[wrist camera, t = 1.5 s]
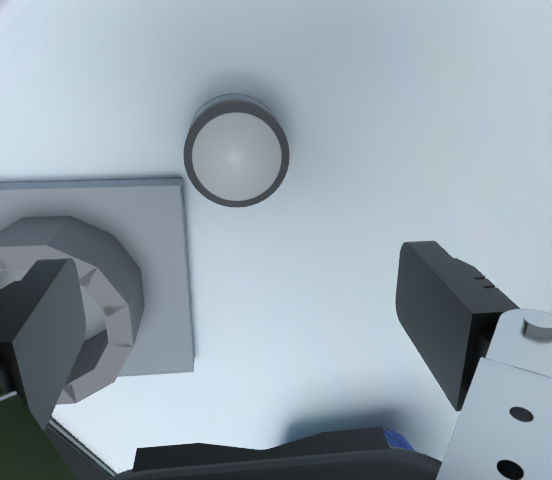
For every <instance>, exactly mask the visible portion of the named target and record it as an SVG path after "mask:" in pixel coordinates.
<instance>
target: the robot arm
mask: <svg viewBox="0 0 552 480" xmlns="http://www.w3.org/2000/svg"><path fill="white" fill-rule="evenodd" d="M396 311H397V316H398V319H399V321H400V323H401V325H402V326H403V328H404V329H405V331H406V333H407V334H408V336H409V337H410V339H411V341H412V342H413V344H414V345H415V347H416V348H417V350H418V352H419V353H420V355H421V356H422V358H423V360H424V361H425V363H426V364H427V366H428V368H429V369H430V371H431V372H432V374H433V375H434V377H435V379H436V380H437V382H438V383H439V385H440V387H441V388H442V390H443V391H444V393H445V394H446V396H447V398H448V399H449V401H450V402H451V404H452V406H453V407H454V409H455V410H456V411H461V413H460V415H459V418H458V421H457V423H456V426H455V429H454V432H453V434H452V437H451V440H450V443H449V445H448V448H447V451H446V454H445V456H444V459H443V462H441V461H439V460H437V459H434V458H432V457H430V456H427V455H425V454H421V453H418V452H415V451H412V450H408V449H403V448H399V447H392V446H389V444H388V442H387V439H386V437H385V435H384V432H383V430H382V427H380V428H369V429H357V430H345V431H334V432H323V433H320V434H316V435H313V436H310V437H307V438H303V439H300V440H297V441H293V442H290V443H287V444H283V445H280V446H277V447H274V448H270V449H266V450H255V449H246V448H238V447H229V446H221V445H212V444H204V443H193V444H182V445H170V446H158V447H146V448H137V451H136V456H135V461H134V466H133V469H131V470H127V471H124V472H122V473H119V474H117V475H114V476H112V477H109V478H107V479H105V480H552V314H550V313H546V312H543V311H538V310H532V309H520V308H519V307H518V306H517V305H516V304H514V303H513V302H512V301H511V300H510V299H509V298H508V297H507V296H506V295H505V294H503V293H502V292H501V291H500V290H499V289H498V288H495V285H493V284H492V283H491V282H490V281H489V280H488V279H485V276H484V275H482V274H481V273H480V272H479V271H478V270H477V269H476V268H475V267H473V266H471V265H469V264H467V263H465V262H463V261H461V260H459V259H457V258H452V257H451V256H450V255H449V254H448V253H447V252H446V251H445V250H444V249H443V248H442V247H441V246H440V245H439V244H438V243H437V242H435V241H420V242H405V243H403V245H402V247H401V251H400V259H399V269H398V279H397V290H396ZM85 333H86V317H85V311H84V306H83V300H82V294H81V289H80V283H79V278H78V272H77V267H76V264H75V262H74V260H73V259H72V258H60V259H40V260H37V261H36V262H35V263H34V264H33V266H32V267H31V268H30V269H29V271H28V272H27V273H26V274H25V276H24V277H23V278H22V279H21V280H20V281H13V282H12V283H10V284H8V285H7V286H5V287H3V288H2V289H0V480H77V479H76V478H75V476H74V475H73V473H72V472H71V470H70V469H69V467H68V466H67V465H66V463H65V462H64V460H63V459H62V457H61V456H60V454H59V453H58V451H57V450H56V449H55V447H54V446H53V444H52V443H51V441H50V440H49V438H48V437H47V435H46V434H45V433H44V430H45V428H46V426H47V424H48V421H49V419H50V417H51V415H52V412H53V410H54V408H55V405H56V403H57V401H58V399H59V396H60V394H61V392H62V390H63V387H64V385H65V383H66V381H67V378H68V376H69V374H70V372H71V369H72V367H73V365H74V363H75V360H76V358H77V356H78V354H79V351H80V349H81V347H82V344H83V342H84V339H85Z"/></svg>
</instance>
